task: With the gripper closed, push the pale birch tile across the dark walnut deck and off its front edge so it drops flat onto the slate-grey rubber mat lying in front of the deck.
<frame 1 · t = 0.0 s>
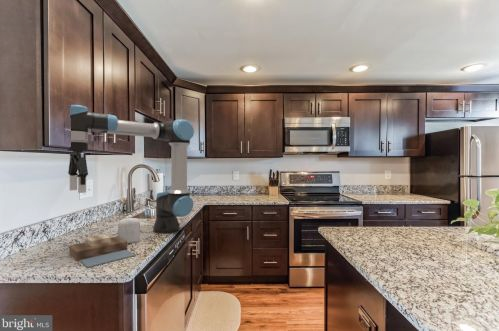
hand: (77, 191, 113), 28 cm above the countertop, tool pointing down, fingers open, 13 cm apart
walnut deck: (99, 252, 118), on the countertop
birch tile: (98, 242, 119), point 4 cm above the countertop, touching walnut deck
rubber mat: (108, 258, 111), on the countertop
photo printer: (128, 243, 133), on the countertop
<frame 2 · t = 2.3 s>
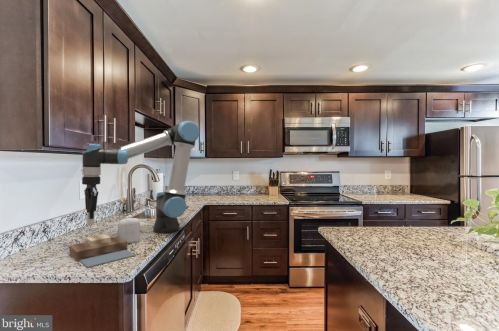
hand: (90, 225, 126), 10 cm above the countertop, tool pointing down, fingers closed
nothing on the countertop moved.
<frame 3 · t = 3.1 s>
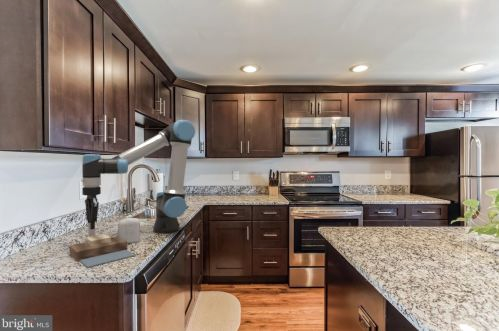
hand: (91, 235, 126), 5 cm above the countertop, tool pointing down, fingers closed
nothing on the countertop moved.
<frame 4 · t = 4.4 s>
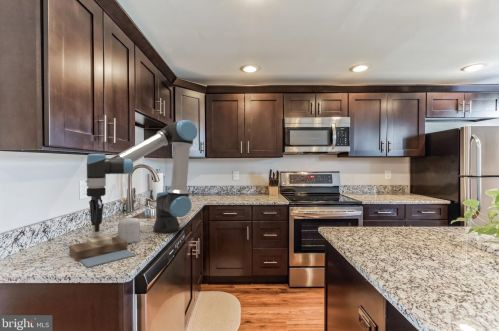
hand: (96, 238, 121), 5 cm above the countertop, tool pointing down, fingers closed
birch tile: (99, 243, 118), point 4 cm above the countertop, touching gripper
everything else where it was.
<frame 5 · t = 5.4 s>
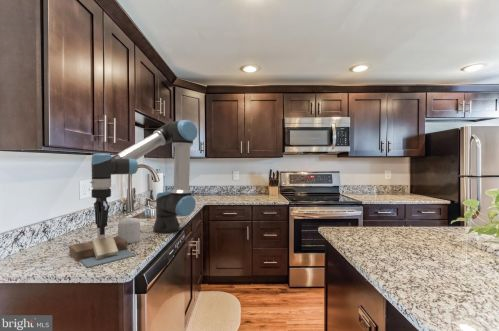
hand: (101, 241, 116), 6 cm above the countertop, tool pointing down, fingers closed
birch tile: (104, 249, 113), point 3 cm above the countertop, tilted 37°, touching rubber mat, walnut deck
everything else where it was.
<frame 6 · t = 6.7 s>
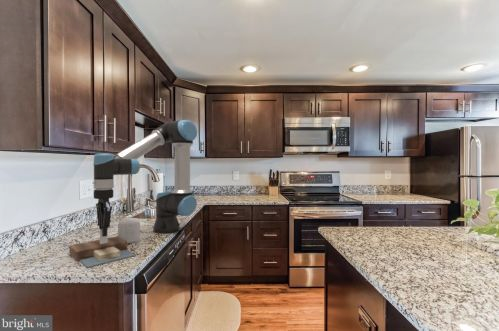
hand: (103, 243, 114), 5 cm above the countertop, tool pointing down, fingers closed
birch tile: (107, 256, 111), resting on rubber mat
everything else where it was.
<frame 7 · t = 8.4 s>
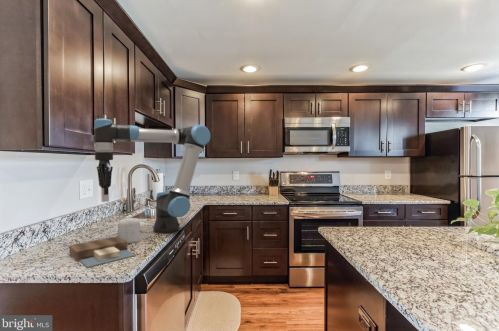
hand: (105, 201, 125), 22 cm above the countertop, tool pointing down, fingers closed
nothing on the countertop moved.
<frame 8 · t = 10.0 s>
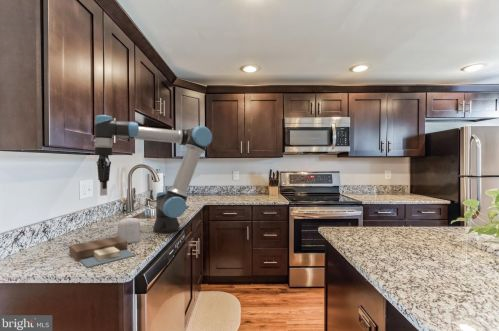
hand: (103, 195, 129), 24 cm above the countertop, tool pointing down, fingers closed
nothing on the countertop moved.
at the end: birch tile inside the target area on the rubber mat (1.3 cm from its centre), point 0.5 cm above the rubber mat's base; birch tile point 0.5 cm above the countertop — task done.
